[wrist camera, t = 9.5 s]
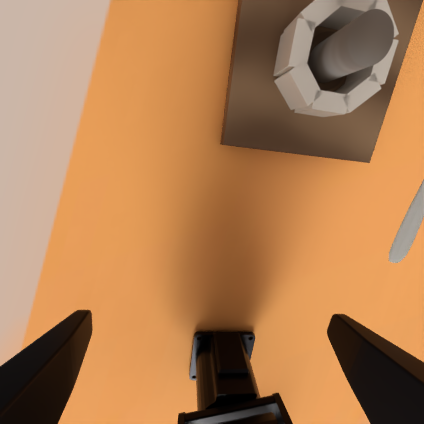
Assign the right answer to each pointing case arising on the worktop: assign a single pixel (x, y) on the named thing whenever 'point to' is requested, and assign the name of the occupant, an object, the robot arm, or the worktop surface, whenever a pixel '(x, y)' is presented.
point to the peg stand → (323, 73)
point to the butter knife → (408, 228)
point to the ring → (299, 52)
